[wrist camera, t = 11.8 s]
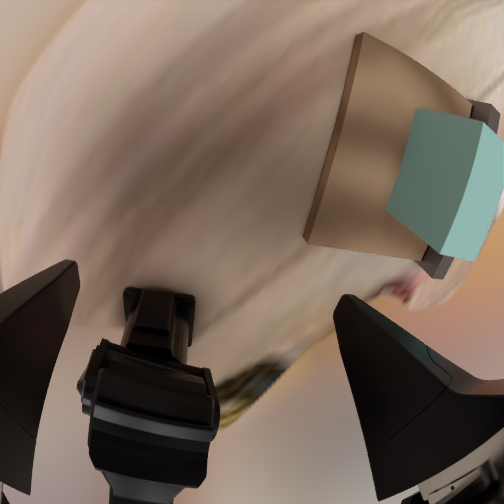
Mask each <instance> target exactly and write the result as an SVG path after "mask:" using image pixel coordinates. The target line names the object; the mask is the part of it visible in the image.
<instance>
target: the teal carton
mask: <svg viewBox="0 0 504 504" xmlns="http://www.w3.org/2000/svg"><path fill="white" fill-rule="evenodd" d="M503 188H504V142H503V141H502V140H501V139H500V138H499V137H498V136H497V135H496V134H495V133H494V132H493V131H492V130H491V129H490V128H489V127H488V126H487V125H486V124H485V123H484V122H482V121H478V120H474V119H470V118H466V117H462V116H457V115H452V114H448V113H442V112H437V111H431V110H425V109H418V108H416V110H415V114H414V119H413V123H412V127H411V131H410V135H409V138H408V142H407V146H406V149H405V153H404V156H403V159H402V163H401V166H400V169H399V172H398V176H397V179H396V182H395V185H394V188H393V191H392V194H391V196H390V199H389V202H388V205H387V208H386V210H385V211H387V212H388V213H389V214H391V215H392V216H393V217H395V218H396V219H397V220H399V221H400V222H401V223H403V224H404V225H405V226H406V227H408V228H409V229H410V230H411V231H413V232H414V233H415V234H416V235H418V236H419V237H420V238H421V239H422V240H424V241H425V242H426V243H427V244H428V245H430V246H431V247H432V248H433V249H434V250H435V251H437V252H438V253H439V254H442V255H446V256H451V257H456V258H460V259H465V260H469V261H474V260H475V258H476V256H477V254H478V252H479V250H480V248H481V246H482V243H483V241H484V239H485V236H486V234H487V232H488V229H489V227H490V224H491V222H492V219H493V217H494V214H495V211H496V209H497V206H498V203H499V200H500V197H501V194H502V191H503Z"/></svg>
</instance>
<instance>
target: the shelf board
mask: <svg viewBox="0 0 504 504" xmlns="http://www.w3.org/2000/svg"><path fill="white" fill-rule="evenodd" d="M471 107H472V104H471V103H470V102H469V101H468V100H467V99H466V98H465V97H463V96H462V95H461V94H460V93H459V92H457V91H456V90H455V89H454V88H453V87H451V86H450V85H449V84H447V83H446V82H445V81H444V80H442V79H441V78H440V77H438V76H437V75H435V74H434V73H433V72H431V71H430V70H428V69H427V68H426V67H424V66H423V65H421V64H420V63H418V62H417V61H415V60H413V59H412V58H410V57H409V56H407V55H405V54H404V53H402V52H400V51H399V50H397V49H395V48H394V47H392V46H390V45H388V44H386V43H385V42H383V41H381V40H379V39H377V38H375V37H373V36H371V35H369V34H367V33H365V32H363V33H360V34H357V35H356V38H355V43H354V48H353V53H352V57H351V62H350V67H349V71H348V75H347V80H346V84H345V88H344V93H343V97H342V101H341V105H340V109H339V113H338V117H337V121H336V125H335V129H334V132H333V136H332V140H331V144H330V147H329V151H328V155H327V158H326V162H325V166H324V169H323V173H322V176H321V180H320V183H319V186H318V190H317V193H316V197H315V200H314V203H313V207H312V210H311V213H310V216H309V220H308V223H307V226H306V229H305V232H304V236H303V238H304V239H305V241H306V242H307V244H311V245H318V246H325V247H332V248H338V249H345V250H352V251H359V252H365V253H372V254H378V255H385V256H391V257H397V258H404V259H410V260H416V261H421V259H422V257H423V255H424V253H425V251H426V248H427V246H428V244H427V243H426V242H425V241H424V240H422V239H421V238H420V237H419V236H418V235H416V234H415V233H414V232H413V231H411V230H410V229H409V228H408V227H406V226H405V225H404V224H403V223H401V222H400V221H399V220H397V219H396V218H395V217H393V216H392V215H391V214H389V213H388V212H387V211H385V210H386V208H387V205H388V202H389V199H390V196H391V194H392V191H393V188H394V185H395V182H396V179H397V176H398V172H399V169H400V166H401V163H402V159H403V156H404V153H405V149H406V146H407V142H408V138H409V135H410V131H411V127H412V123H413V119H414V114H415V110H416V108H418V109H425V110H431V111H437V112H442V113H448V114H452V115H457V116H462V117H466V118H470V113H471Z"/></svg>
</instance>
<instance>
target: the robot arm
mask: <svg viewBox="0 0 504 504" xmlns="http://www.w3.org/2000/svg"><path fill="white" fill-rule="evenodd" d="M79 289H80V279H79V272H78V265H77V263H76V262H75V261H72V260H63V261H61V262H59V263H57V264H55V265H53V266H51V267H49V268H47V269H45V270H43V271H41V272H39V273H37V274H35V275H33V276H32V277H30V278H28V279H26V280H24V281H22V282H20V283H19V284H17V285H15V286H13V287H11V288H9V289H8V290H6V291H4V292H2V293H1V294H0V504H9V502H8V500H7V498H6V496H5V495H4V493H3V491H2V490H3V483H4V484H6V485H8V486H10V487H12V488H14V489H16V490H18V491H20V492H23V493H25V494H27V495H30V492H31V478H32V468H33V459H34V453H35V446H36V438H37V433H38V428H39V423H40V418H41V414H42V409H43V405H44V401H45V397H46V393H47V390H48V386H49V383H50V379H51V376H52V372H53V369H54V366H55V363H56V360H57V357H58V354H59V351H60V348H61V346H62V343H63V340H64V337H65V335H66V332H67V329H68V326H69V323H70V319H71V316H72V312H73V309H74V305H75V302H76V299H77V296H78V293H79ZM128 293H130V294H128ZM123 300H124V309H125V317H126V326H125V330H124V334H123V337H122V340H121V344H120V345H117V344H114V343H111V342H109V340H106V339H103V338H102V340H101V343H100V345H97V347H96V349H93V351H92V354H91V357H90V360H89V363H88V366H87V368H86V369H85V371H84V373H83V374H82V376H81V377H80V379H79V381H78V383H77V390H78V391H79V393H80V395H81V402H82V412H83V413H84V414H87V415H90V424H89V434H88V447H89V455H90V458H91V461H92V463H93V465H94V467H95V469H96V470H98V471H101V472H102V474H103V475H104V477H105V479H106V480H107V482H108V484H109V485H110V494H109V504H173V499H174V497H175V496H176V495H178V494H179V493H180V492H181V491H182V490H183V489H184V488H198V487H199V486H200V485H201V484H202V482H203V481H204V479H205V478H206V474H207V459H208V450H209V446H210V442H211V441H213V439H214V438H215V436H216V434H217V431H218V427H219V421H220V405H219V401H218V397H217V394H216V390H215V386H214V383H213V379H212V375H211V371H210V369H208V368H204V367H203V368H199V367H194V366H190V365H187V350H188V347H190V346H191V344H192V333H193V322H194V312H195V303H196V300H195V298H194V297H193V296H191V295H182V294H173V293H165V292H157V291H149V290H142V289H135V288H125V290H124V292H123ZM188 301H192V302H188ZM333 320H334V324H335V329H336V334H337V339H338V344H339V349H340V353H341V357H342V360H343V364H344V367H345V370H346V374H347V377H348V380H349V384H350V388H351V391H352V395H353V398H354V402H355V406H356V409H357V413H358V417H359V421H360V425H361V428H362V432H363V436H364V440H365V445H366V449H367V452H368V458H369V462H370V467H371V471H372V476H373V481H374V486H375V491H376V496H377V499H378V501H381V500H384V499H386V498H389V497H391V496H394V495H396V494H398V493H401V492H403V491H405V490H407V489H409V488H411V487H414V486H416V485H418V487H419V490H420V491H418V492H416V493H414V494H413V495H411V496H409V497H407V498H405V499H403V500H402V502H401V504H504V379H499V380H481V379H479V378H476V377H474V376H473V375H471V374H470V373H468V372H466V371H465V370H463V369H462V368H460V367H458V366H457V365H455V364H454V363H452V362H451V361H449V360H448V359H446V358H444V357H443V356H441V355H440V354H439V353H437V352H436V351H434V350H433V349H431V348H430V347H428V346H427V345H425V344H424V343H423V342H421V341H420V340H419V339H417V338H416V337H414V336H413V335H411V334H410V333H409V332H407V331H406V330H404V329H403V328H401V327H400V326H399V325H397V324H396V323H394V322H393V321H391V320H390V319H388V318H387V317H386V316H384V315H383V314H381V313H379V312H378V311H377V310H375V309H374V308H372V307H371V306H370V305H368V304H367V303H365V302H364V301H362V300H361V299H359V298H358V297H356V296H355V295H351V294H344V295H342V296H341V298H340V300H339V302H338V304H337V306H336V308H335V310H334V313H333Z"/></svg>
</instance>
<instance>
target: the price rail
mask: <svg viewBox="0 0 504 504" xmlns="http://www.w3.org/2000/svg"><path fill="white" fill-rule="evenodd" d="M467 100H468V99H467ZM468 101H469V102H470V103H471V104H472V107H471V113H470V119H474V120H478V121H482V122H484V123H485V124H486V125H487V126H488V127H489V128H490V129H491V130H492V131H493V132H494V133H495V134H496V135H497V130H498V125H499V119H500V113H499V112H498V111H497V110H496V109H495V108H494V107H493V106H492V104H488V103H484V102H479V101H473V100H468ZM453 259H454V257H451V256H446V255H442V254H439V253H438V252H437V251H435V250H434V249H433V248H432V247H431V246H430V245H428V246H427V248H426V251H425V253H424V255H423V257H422V259H421V261H416V260H414V261H415V262H416V263H418V264H419V265H420V266H421V267H422V268H423V269H424V270H425V271H426V272H427V273H428V275H429V276H430V277H431V278H434V279H444V277H445V275H446V273H447V271H448V269H449V267H450V265H451V263H452V261H453Z"/></svg>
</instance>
